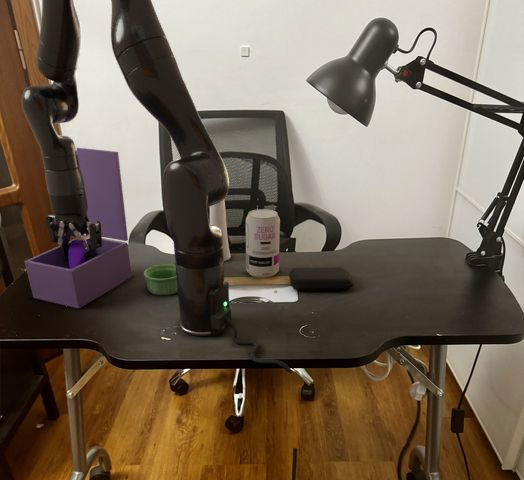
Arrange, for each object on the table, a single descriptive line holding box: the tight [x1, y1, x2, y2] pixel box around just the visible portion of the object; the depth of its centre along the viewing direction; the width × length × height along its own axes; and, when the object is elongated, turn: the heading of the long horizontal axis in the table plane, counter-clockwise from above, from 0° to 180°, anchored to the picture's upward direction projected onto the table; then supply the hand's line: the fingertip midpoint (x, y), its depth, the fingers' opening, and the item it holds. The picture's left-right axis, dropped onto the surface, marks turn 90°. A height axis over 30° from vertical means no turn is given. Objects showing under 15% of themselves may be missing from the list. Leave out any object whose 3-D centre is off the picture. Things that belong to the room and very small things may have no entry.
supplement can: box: [245, 208, 281, 279], centre depth 127 cm, size 8×8×15 cm
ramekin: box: [143, 263, 178, 296], centre depth 121 cm, size 9×9×4 cm
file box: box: [24, 234, 133, 310], centre depth 120 cm, size 19×13×9 cm
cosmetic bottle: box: [209, 199, 231, 262], centre depth 133 cm, size 6×6×22 cm
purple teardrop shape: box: [69, 239, 90, 269], centre depth 118 cm, size 5×5×15 cm
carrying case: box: [288, 266, 354, 292], centre depth 124 cm, size 11×3×15 cm
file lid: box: [76, 147, 129, 242], centre depth 122 cm, size 20×13×5 cm
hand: (80, 262), depth 119 cm, fingers closed on purple teardrop shape, 6 cm apart
